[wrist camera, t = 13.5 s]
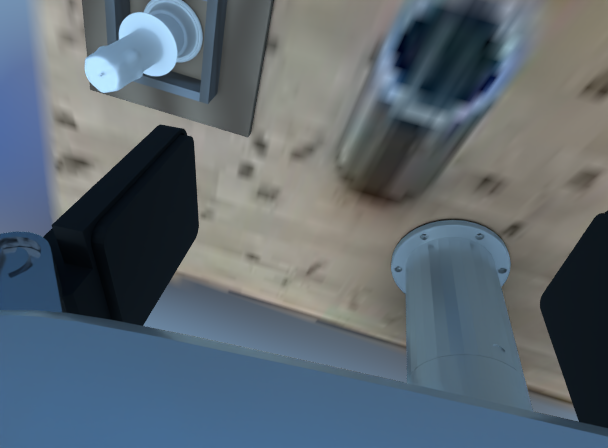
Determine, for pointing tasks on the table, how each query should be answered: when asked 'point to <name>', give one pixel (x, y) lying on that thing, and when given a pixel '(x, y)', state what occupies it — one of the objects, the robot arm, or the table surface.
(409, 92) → the table surface
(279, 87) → the table surface
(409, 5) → the table surface
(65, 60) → the table surface
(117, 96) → the keeper board
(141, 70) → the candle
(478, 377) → the robot arm
